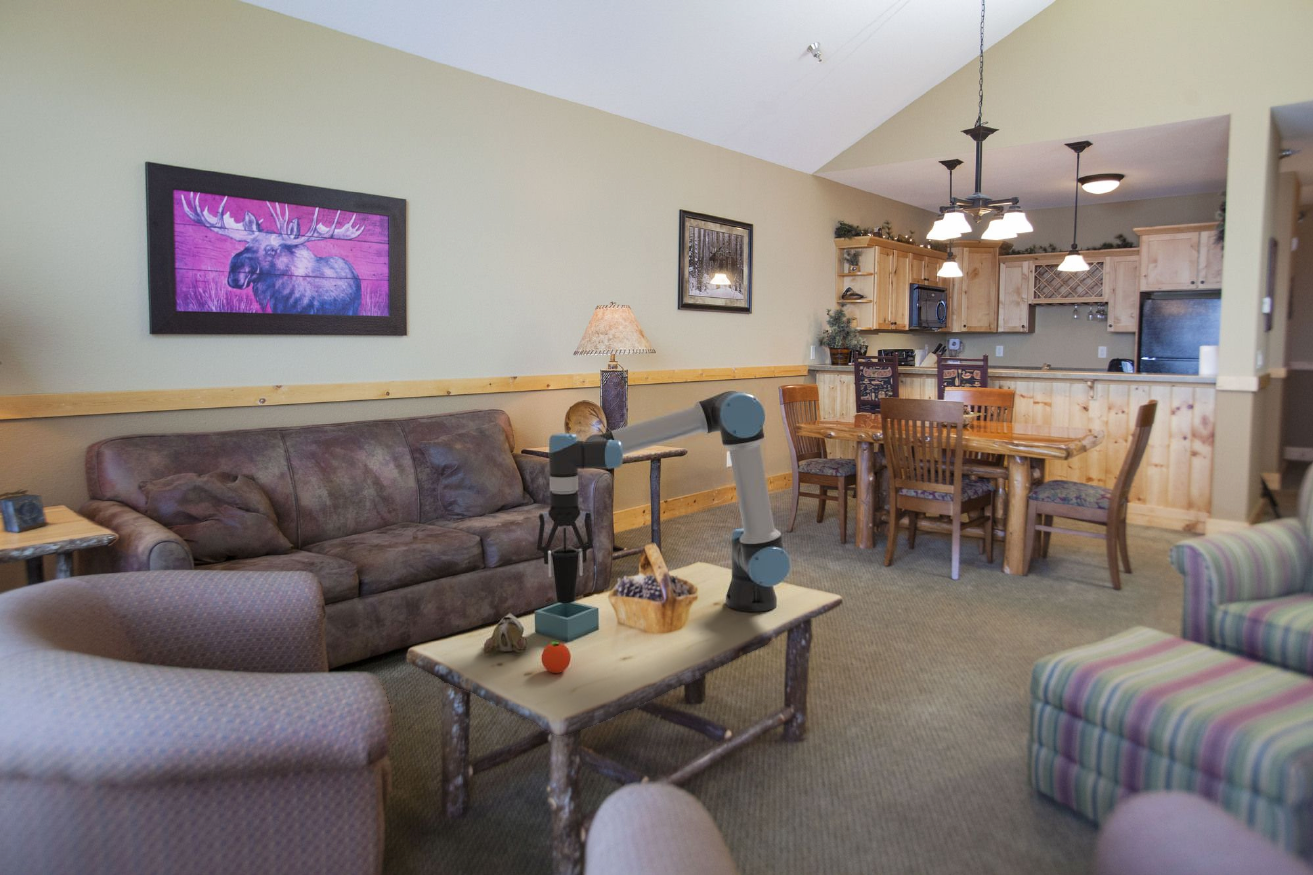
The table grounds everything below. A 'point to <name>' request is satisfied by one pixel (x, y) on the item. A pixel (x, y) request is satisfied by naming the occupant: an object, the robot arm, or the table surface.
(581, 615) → the teal bin
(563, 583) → the drinking cup
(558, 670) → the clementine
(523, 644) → the ceramic sculpture
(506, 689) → the table surface
